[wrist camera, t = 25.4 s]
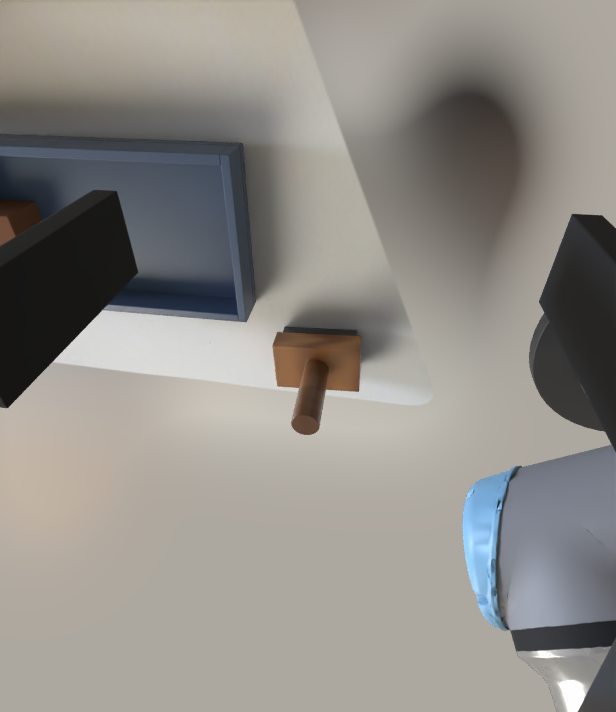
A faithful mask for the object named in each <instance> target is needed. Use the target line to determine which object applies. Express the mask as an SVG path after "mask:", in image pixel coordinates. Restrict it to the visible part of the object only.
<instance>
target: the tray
mask: <svg viewBox="0 0 616 712" xmlns="http://www.w3.org/2000/svg"><path fill="white" fill-rule="evenodd" d="M92 190H109V191H117V192H118V196H119V200H120V204H121V208H122V211H123V215H124V219H125V223H126V227H127V230H128V234H129V238H130V242H131V246H132V249H133V253H134V257H135V261H136V265H137V268H138V272H139V273H138V274H137V275H136V276H135V277H134V278H133V279H132V280H131V281H130V282H129V283H128V284H127V285H126V286H125V287H124V288H123V289H122V290H121V291H120V292H119V293H118V294H117V295H116V296H115V297H114V298H113V300H112V301H111V302H110V303H109V304H108V305H107V306H106V307H105V308H104V309H103V310H108V311H120V312H131V313H143V314H155V315H167V316H179V317H191V318H203V319H214V320H226V321H239V322H247V320H248V318H249V315H250V313H251V311H252V309H253V307H254V305H255V302H256V297H255V285H254V273H253V261H252V249H251V238H250V226H249V214H248V202H247V190H246V178H245V167H244V155H243V144H242V143H225V142H197V141H170V140H142V139H114V138H87V137H59V136H31V135H3V134H0V200H13V201H32V202H35V203H36V205H37V208H38V210H39V213H40V216H41V218H42V220H44V219H46V218H47V217H49V216H51V215H52V214H54V213H56V212H57V211H59V210H61V209H62V208H64V207H66V206H67V205H69V204H71V203H72V202H74V201H76V200H77V199H79V198H81V197H82V196H84V195H86V194H87V193H89V192H91V191H92Z"/></svg>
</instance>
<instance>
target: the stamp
mask: <svg viewBox="0 0 616 712" xmlns="http://www.w3.org/2000/svg"><path fill="white" fill-rule="evenodd" d="M361 344H362V336H358V330H341V329H320V328H299V327H285V328H284V331H283V332H277V335H276V337H275V340H274V343H273V354H274V363H275V372H276V380H277V386H281V387H296V388H299V392H298V396H297V400H296V404H295V408H294V412H293V417H292V421H291V425H292V427H293V429H294V430H295V431H297V432H298V433H300V434H304V435H311V434H314V433H316V432H317V431H318V430H319V426H320V420H321V414H322V409H323V403H324V397H325V391H326V390H340V391H355V392H359V385H360V369H361Z"/></svg>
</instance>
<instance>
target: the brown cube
mask: <svg viewBox="0 0 616 712" xmlns="http://www.w3.org/2000/svg"><path fill="white" fill-rule="evenodd" d="M41 221H42V218H41V216H40V213H39V210H38V208H37V205H36V203H35V202H32V201H13V200H0V246H1V245H3V244H4V243H6V242H8V241H9V240H11V239H13V238H14V237H16V236H17V235H19V234H21V233H22V232H24V231H26V230H27V229H29V228H31V227H32V226H34V225H36V224H37V223H39V222H41Z"/></svg>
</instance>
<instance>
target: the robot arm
mask: <svg viewBox="0 0 616 712" xmlns="http://www.w3.org/2000/svg"><path fill="white" fill-rule="evenodd" d="M138 273H139V272H138V268H137V265H136V261H135V257H134V253H133V249H132V246H131V242H130V238H129V234H128V230H127V227H126V223H125V219H124V215H123V211H122V208H121V204H120V200H119V196H118V192H117V191H109V190H92V191H91V192H89V193H87V194H86V195H84V196H82V197H81V198H79V199H77V200H76V201H74V202H72V203H71V204H69V205H67V206H66V207H64V208H62V209H61V210H59V211H57V212H56V213H54V214H52V215H51V216H49V217H47V218H46V219H44V220H42V221H41V222H39V223H37V224H36V225H34V226H32V227H31V228H29V229H27V230H26V231H24V232H22V233H21V234H19V235H17V236H16V237H14V238H13V239H11V240H9V241H8V242H6V243H4V244H3V245H1V246H0V407H2V408H8V407H9V406H10V405H11V404H12V403H13V402H14V401H15V400H16V399H17V398H18V397H19V396H20V395H21V394H22V393H23V392H24V391H25V390H26V388H27V387H29V386H30V384H31V383H32V382H33V381H34V380H35V379H36V378H37V377H38V376H39V375H40V374H41V373H42V372H43V371H44V370H45V369H46V368H47V367H48V366H49V365H50V364H51V363H52V362H53V361H54V360H55V359H56V358H57V357H58V355H59V354H60V353H61V352H62V351H63V350H64V349H65V348H66V347H67V346H68V345H69V344H70V343H71V342H72V341H73V340H74V339H75V338H76V337H77V336H78V335H79V334H80V333H81V332H82V331H83V330H84V329H85V328H86V326H87V325H88V324H89V323H90V322H91V321H92V320H93V319H94V318H95V317H96V316H97V315H98V314H99V313H100V312H101V311H102V310H103V309H104V308H105V307H106V306H107V305H108V304H109V303H110V302H111V301H112V300H113V298H114V297H115V296H116V295H117V294H118V293H119V292H120V291H121V290H122V289H123V288H124V287H125V286H126V285H127V284H128V283H129V282H130V281H131V280H132V279H133V278H134V277H135V276H136V275H137V274H138ZM539 303H540V305H541V306H542V309H543V311H544V313H545V315H546V317H547V318H548V320H549V322H550V324H551V326H552V328H553V330H554V332H555V334H556V336H557V338H558V340H559V342H560V344H561V346H562V348H563V350H564V352H565V354H566V356H567V358H568V360H569V362H570V364H571V366H572V368H573V369H574V371H575V373H576V376H577V379H578V381H579V383H580V385H581V387H582V389H583V391H584V393H585V395H586V396H587V398H588V399H589V401H590V403H591V405H592V407H593V409H594V411H595V413H596V415H597V417H598V418H599V420H600V422H601V424H602V426H603V428H604V430H605V432H606V434H607V436H608V438H609V440H610V442H611V444H612V445H609V446H605V447H601V448H597V449H594V450H589V451H585V452H581V453H577V454H574V455H569V456H565V457H562V458H558V459H554V460H549V461H545V462H541V463H538V464H533V465H529V466H525V467H522V466H515V467H513V468H511V469H510V470H509V471H506V472H503V473H500V474H497V475H493V476H490V477H487V478H484V479H481V480H479V481H477V482H476V483H475V484H474V485H473V486H472V487H471V488H470V490H469V492H468V494H467V497H466V501H465V504H464V509H463V541H464V550H465V557H466V563H467V568H468V573H469V577H470V581H471V585H472V588H473V591H474V592H475V593H476V594H477V600H478V605H479V607H480V610H481V612H482V614H483V616H484V617H485V618H486V620H487V621H488V622H489V623H490V624H491V625H492V626H494V627H497V628H500V629H501V630H504V631H507V630H510V631H511V634H512V637H513V641H514V645H515V648H516V652H517V655H518V657H519V658H520V659H522V660H523V661H524V662H525V663H526V664H528V665H529V666H530V667H531V668H532V669H534V670H535V671H536V672H537V673H539V674H540V675H541V676H542V677H543V679H544V680H545V681H546V683H547V684H548V686H549V689H550V692H551V696H552V699H553V702H554V706H555V709H556V712H616V228H615V227H614V226H613V225H611V224H610V223H609V222H608V221H607V220H606V219H605V218H604V217H603V216H602V215H582V214H581V215H580V214H572V215H571V218H570V221H569V223H568V226H567V229H566V231H565V234H564V237H563V239H562V242H561V245H560V247H559V250H558V253H557V255H556V258H555V261H554V263H553V266H552V269H551V271H550V274H549V277H548V279H547V282H546V284H545V287H544V290H543V292H542V295H541V298H540V301H539Z"/></svg>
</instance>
